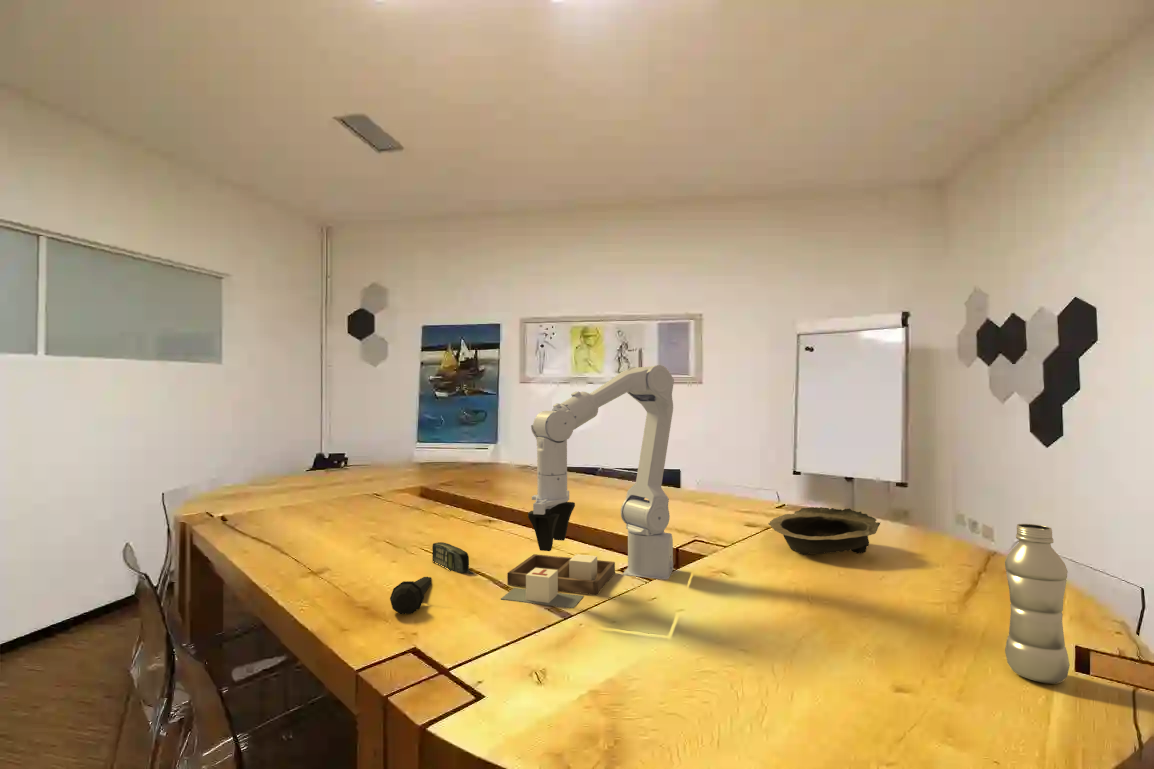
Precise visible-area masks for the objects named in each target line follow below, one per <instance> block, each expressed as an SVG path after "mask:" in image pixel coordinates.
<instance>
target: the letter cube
mask: <svg viewBox="0 0 1154 769" xmlns="http://www.w3.org/2000/svg"><path fill="white" fill-rule="evenodd" d="M525 589H526V600H530V601H538V602H546V603H549V602H550V601H551V600H552V599H553V598H554V597H556V596H557V595H558V593H559V592H558V570H552V569H543V568H535V569H533V570H532V571H531V572H529V573H528V574H527V575H526V587H525Z"/></svg>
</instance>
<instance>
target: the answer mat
mask: <svg viewBox="0 0 1154 769" xmlns="http://www.w3.org/2000/svg"><path fill="white" fill-rule="evenodd" d="M584 597H585V596H584V595H581V594H580V595H579V594H572V593H562V592H558V595H557V596H556V597H554V598H553V599H552V600H551V601H550V602H549V603H546V602H538V601H530V600H526V588H521V587H514V588H512V589H511V590H510V591H509V592H508V593H506V594H505V595H504V596H502V597H501V598H500V600H503V601H509V602H510V601H511V602H519V603H526V604H534V605H543V606H549V607H559V608H567V609H575V608H576V606H577V605H578V604H579V602H581V600H582V599H583V598H584Z"/></svg>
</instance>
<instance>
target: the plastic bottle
mask: <svg viewBox="0 0 1154 769" xmlns="http://www.w3.org/2000/svg"><path fill="white" fill-rule="evenodd" d="M1015 538H1016V539H1017V540H1018V543H1017V544H1016V545H1015V546H1013V548H1011V550H1010V551H1009V553H1008V554H1007V555H1006V557H1005V560H1004V567H1005V568H1004V569H1005V573H1006V578H1007V585H1008V591H1009V602H1010V619H1009V627H1008V629H1009V630H1008V635H1007V639H1006V642H1005V643H1006V644H1005V649H1004V653H1005V657H1006V663H1007V664H1008V666H1009V667H1010V669H1011V670H1012V671H1013V672H1014V673H1015V674H1017V675H1019V676H1020V677H1023V678H1025V679H1028V680H1031V681H1034V682H1039V683H1045V684H1060V683H1062V682H1063V681H1064V680H1066V678H1067V677H1068V675H1069V670H1070V666H1071V665H1070V659H1069V654H1068V651H1067V647H1066V642H1065V632H1064V626H1063V615H1064V614H1063V610H1064V596H1065V591H1066V586H1067V579H1068V573H1069V572H1068V568H1067V565H1066V564H1065V562H1064V560H1063V559H1062V558H1061V556H1060V555H1059V554H1058V553H1057V552H1056V551H1055V549H1054V548H1053V547H1052V545H1051V544H1053V543H1054V538H1053V528H1052V527H1049V526H1046V525H1041V524H1035V523H1018V524H1016V534H1015Z"/></svg>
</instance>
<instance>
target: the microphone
mask: <svg viewBox="0 0 1154 769" xmlns="http://www.w3.org/2000/svg"><path fill="white" fill-rule="evenodd" d="M432 580H433V579H432V577H431V576H423V577H421V578H419V579H417V580H415V581H414V580H410V581H409V580H408V581H406V580H405V581H402V582H400V583H399V584H397V585H396V586H394V587H393V589H392V591H391V594H390V597H389V601H390V604H391V608H392V610H393V611H395V613H397V614H399V615H413V614H415V613H416V612H418V611H419V610H420V609H421V607H422V604H423V602H424V599H425V593H426V592H427V590H428V589H429V588H430V586H431V585H432Z"/></svg>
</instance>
